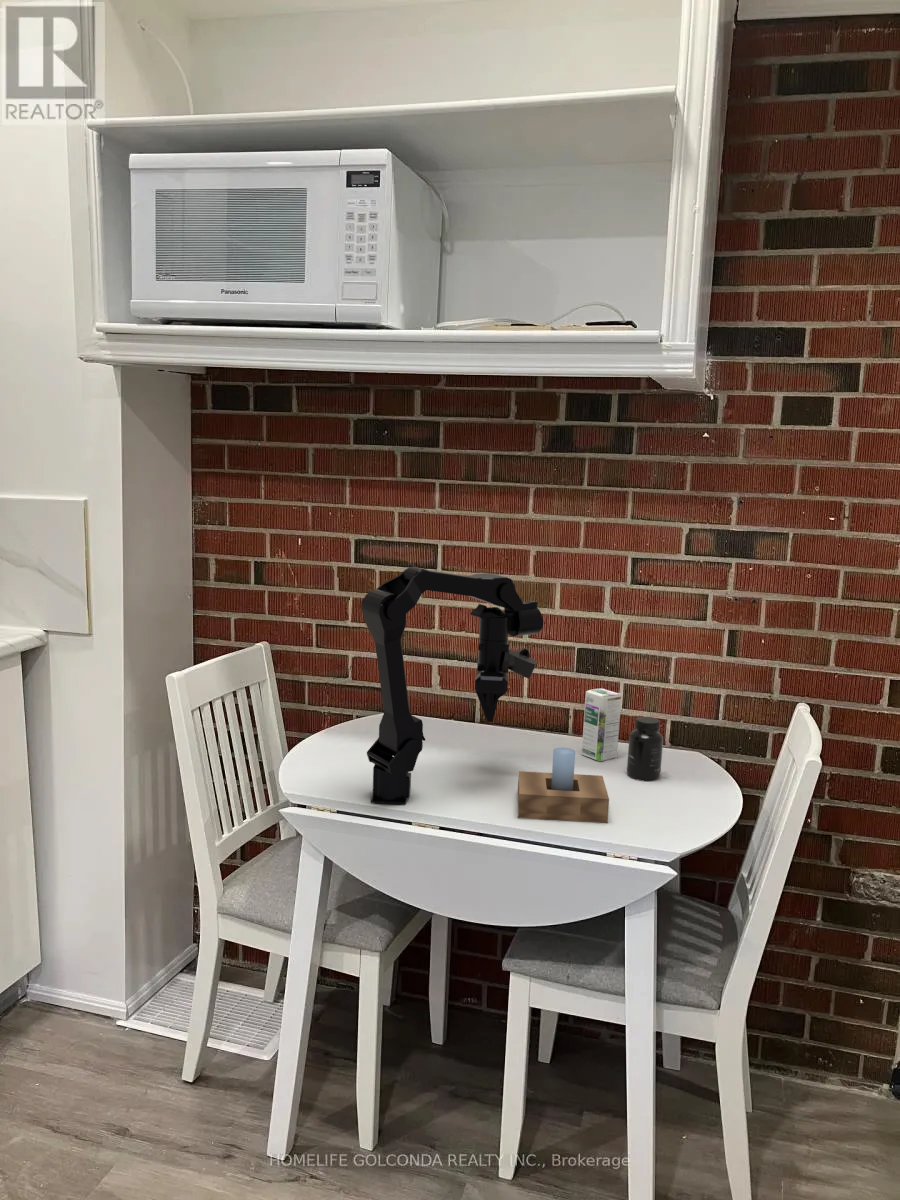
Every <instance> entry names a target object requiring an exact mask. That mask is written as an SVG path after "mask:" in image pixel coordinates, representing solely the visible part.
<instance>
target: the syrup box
mask: <svg viewBox="0 0 900 1200" xmlns="http://www.w3.org/2000/svg"><path fill="white" fill-rule="evenodd" d="M584 697H585V698H584V714H583V715H584V716H583V727H582V728H583V730H582V742H581V755H582V756H585V757H588V758H590V759H593V760H595V761H597V762H600V763H601V762H603V761H608V760H612V759H614V758H618V749H619V748H618V746H619V735H620V734H619V732H620V722H621V721H620V720H621V719H620V718H621V709H622V707H621V706H622V693H619V692H615V691H612V690H608V689H605V688H593V689H589V690H586V691H585V696H584Z"/></svg>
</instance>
